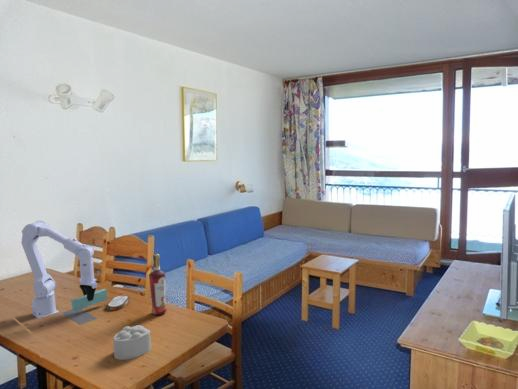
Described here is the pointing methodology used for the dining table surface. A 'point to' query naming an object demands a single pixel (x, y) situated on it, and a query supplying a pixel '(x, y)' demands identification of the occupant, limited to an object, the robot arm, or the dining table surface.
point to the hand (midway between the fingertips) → (89, 299)
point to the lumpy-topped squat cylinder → (131, 342)
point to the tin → (118, 303)
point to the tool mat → (79, 316)
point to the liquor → (157, 288)
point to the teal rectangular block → (83, 301)
